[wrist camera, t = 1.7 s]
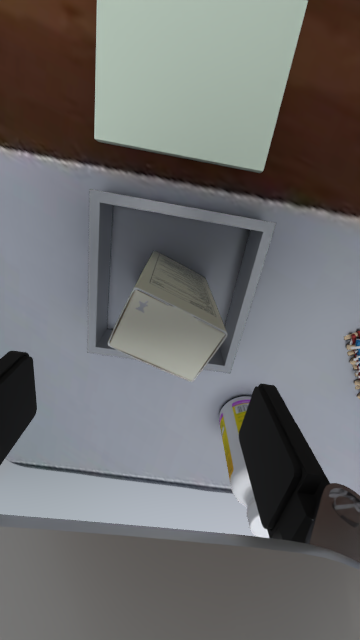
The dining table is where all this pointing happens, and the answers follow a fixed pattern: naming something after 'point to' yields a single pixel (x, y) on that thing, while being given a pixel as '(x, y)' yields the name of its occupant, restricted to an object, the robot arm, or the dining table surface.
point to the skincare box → (170, 320)
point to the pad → (194, 76)
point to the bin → (103, 216)
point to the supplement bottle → (239, 460)
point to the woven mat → (356, 345)
